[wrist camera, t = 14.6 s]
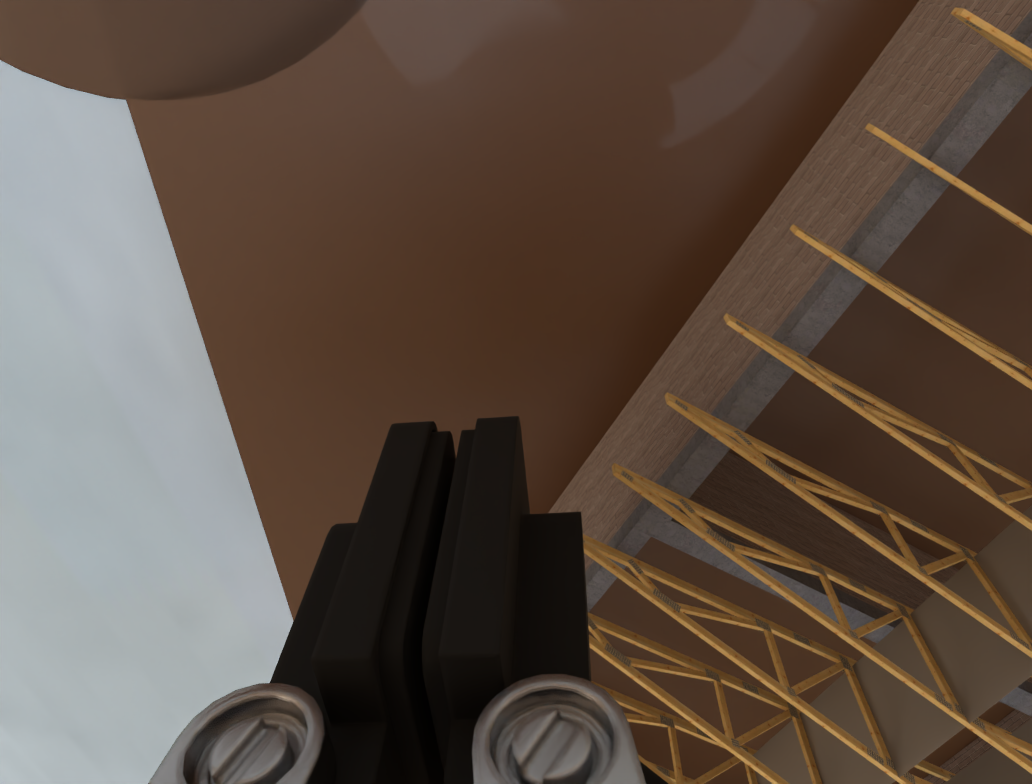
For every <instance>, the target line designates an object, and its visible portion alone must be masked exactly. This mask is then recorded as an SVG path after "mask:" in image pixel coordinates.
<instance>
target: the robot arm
mask: <svg viewBox="0 0 1032 784" xmlns="http://www.w3.org/2000/svg"><path fill="white" fill-rule="evenodd" d="M148 784H668V783H667V782H666V781H665V780H663V779H662V778H661V777H660V776H658V775H657V774H656V773H655V772H653V771H652V770H651V769H650V768H648V767H647V766H646V765H644V764H643V763H642V762H641V761H640V760H639V757H638V753H637V749H636V746H635V742H634V738H633V735H632V731H631V728H630V724H629V722H628V720H627V718H626V716H625V714H624V712H623V710H622V708H621V706H620V704H619V703H618V702H617V701H616V700H615V699H614V698H613V697H612V696H611V695H610V694H609V693H608V692H607V691H606V690H605V689H603V688H601V687H599V686H598V685H596V684H594V683H592V682H591V664H590V645H589V626H588V608H587V591H586V575H585V559H584V544H583V529H582V516H581V512H562V513H542V514H530V508H529V498H528V489H527V480H526V470H525V461H524V452H523V442H522V433H521V425H520V419H519V416H509V417H492V418H478V419H477V421H476V426H475V429H473V430H462V431H461V435H460V440H459V446H458V451H457V456H456V455H455V449H454V442H453V437H452V434H451V432H450V431H439V432H438V429H437V426H436V423H435V422H434V421H425V422H409V423H394V424H392V425H391V427H390V429H389V432H388V434H387V437H386V440H385V443H384V446H383V449H382V452H381V455H380V458H379V461H378V464H377V467H376V470H375V472H374V475H373V478H372V481H371V484H370V487H369V490H368V493H367V496H366V499H365V502H364V505H363V508H362V511H361V513H360V516H359V519H358V522H357V523H340V524H335V525H334V526H332V527H331V529H330V531H329V532H328V534H327V536H326V539H325V542H324V544H323V547H322V549H321V552H320V555H319V557H318V560H317V562H316V565H315V567H314V570H313V573H312V575H311V578H310V580H309V583H308V586H307V588H306V591H305V593H304V596H303V599H302V601H301V604H300V606H299V609H298V611H297V614H296V617H295V619H294V622H293V624H292V627H291V630H290V632H289V635H288V637H287V640H286V642H285V645H284V648H283V650H282V653H281V655H280V658H279V661H278V663H277V666H276V668H275V671H274V674H273V676H272V679H271V681H270V683H265V684H256V685H253V686H249V687H246V688H242V689H238V690H235V691H233V692H232V693H230V694H228V695H226V696H224V697H222V698H220V699H218V700H216V701H214V702H213V703H211V704H210V705H209V706H208V707H206V708H205V709H204V710H203V711H202V712H200V713H199V714H198V715H197V716H195V717H194V718H193V719H192V720H191V722H190V723H189V724H188V725H187V726H186V728H185V729H184V730H183V731H182V733H181V734H180V735H179V736H178V738H177V739H176V741H175V742H174V744H173V745H172V747H171V748H170V750H169V752H168V753H167V755H166V756H165V758H164V759H163V761H162V763H161V764H160V766H159V767H158V769H157V770H156V772H155V773H154V775H153V777H152V778H151V780H150V781H149V783H148Z"/></svg>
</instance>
